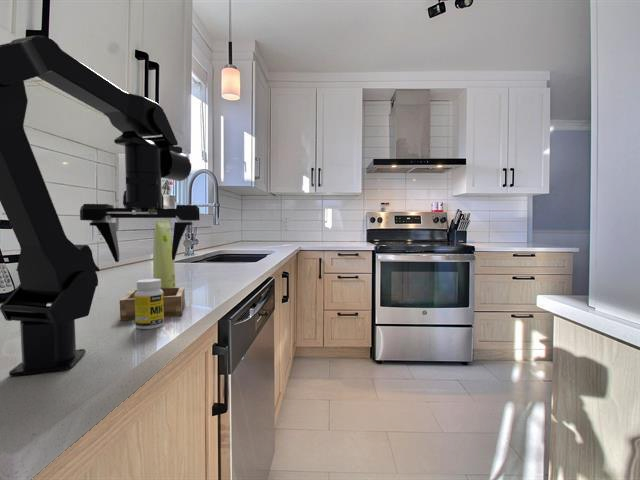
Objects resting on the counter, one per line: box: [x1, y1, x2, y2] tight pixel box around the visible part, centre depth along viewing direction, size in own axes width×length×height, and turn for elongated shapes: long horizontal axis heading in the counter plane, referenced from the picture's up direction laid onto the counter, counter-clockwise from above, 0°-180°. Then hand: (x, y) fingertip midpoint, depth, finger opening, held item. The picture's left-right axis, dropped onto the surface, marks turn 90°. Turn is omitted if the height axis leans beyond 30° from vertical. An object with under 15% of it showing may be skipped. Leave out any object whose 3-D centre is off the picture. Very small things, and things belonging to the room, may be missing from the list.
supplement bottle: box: [134, 278, 165, 330], centre depth 64 cm, size 5×5×8 cm
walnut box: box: [119, 286, 186, 322], centre depth 74 cm, size 11×11×4 cm
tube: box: [152, 219, 176, 288], centre depth 84 cm, size 6×5×20 cm
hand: (146, 260), depth 64 cm, fingers open, 9 cm apart
